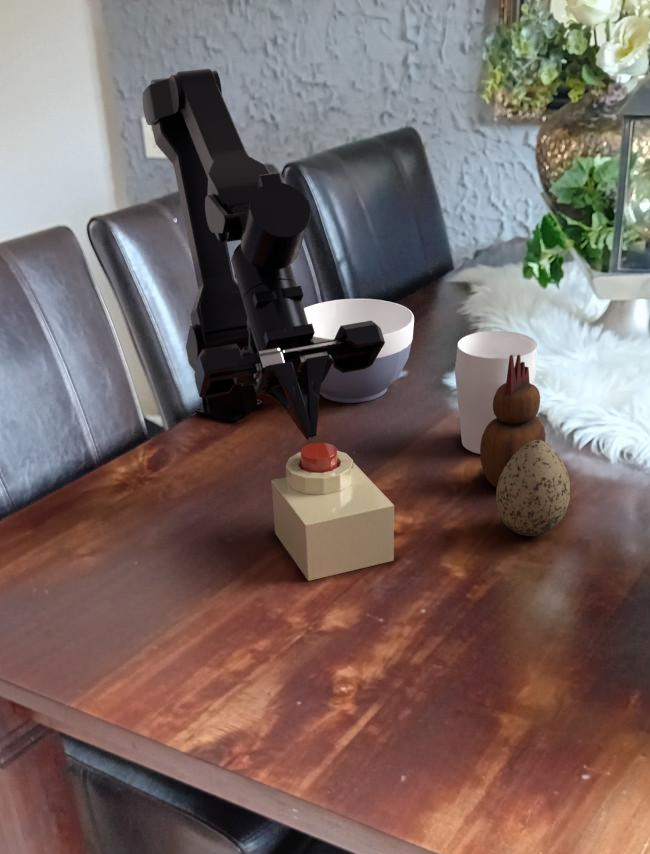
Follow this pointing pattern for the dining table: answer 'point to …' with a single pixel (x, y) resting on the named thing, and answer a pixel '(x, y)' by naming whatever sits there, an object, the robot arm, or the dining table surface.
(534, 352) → the cup
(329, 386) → the bowl
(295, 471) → the button base
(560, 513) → the decorative egg
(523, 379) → the wooden figurine
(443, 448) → the dining table surface
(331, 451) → the red push button
